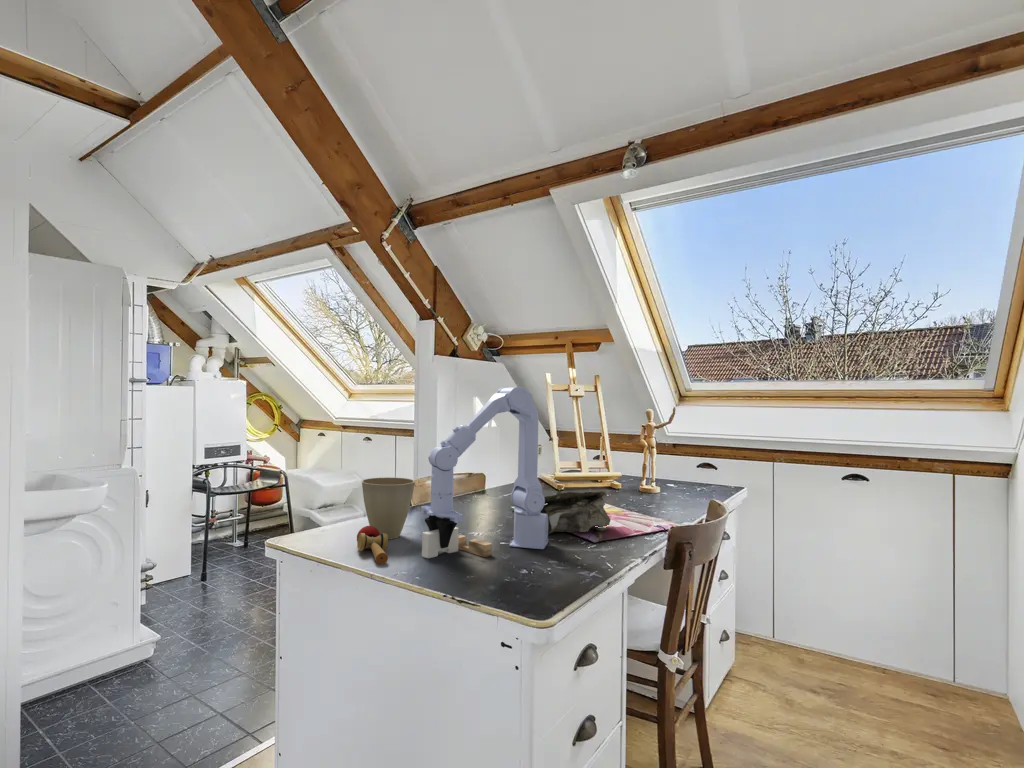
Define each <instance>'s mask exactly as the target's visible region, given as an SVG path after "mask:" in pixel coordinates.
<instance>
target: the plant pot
mask: <svg viewBox="0 0 1024 768" xmlns="http://www.w3.org/2000/svg"><path fill="white" fill-rule="evenodd" d="M415 482H416V481H415V480H414V479H412V478H407V477H406V478H405V477H391V476H390V477H388V476H387V477H371V478H366V479H362V480H361V485H362V486H361V487H362V488H361V489H362V497H363V503H364V509H365V513H366V517H367V521H368V526H373V527H375V528H377V529H378V531H379V533H380V534H382V533H386V534H387V536H388V540H393V539H397V538H399V537H400V535H401V534H402V530H403V528H404V526H405V523H406V521H407V517H408V514H409V511H410V508H411V504H412V499H413V494H414V489H415Z"/></svg>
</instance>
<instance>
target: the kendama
mask: <svg viewBox="0 0 1024 768" xmlns="http://www.w3.org/2000/svg"><path fill="white" fill-rule="evenodd" d="M356 542H357V546H356V549H357V551H359V552H362V551H364V550H371V552H372V554H373V556H374V560H375V562H376V564H377V565H384V564H387V562H388V559H389V555H388V554H387V553H386V551H387V549H388V542H389V539H388V536H387V534H386V533H382V534H380V533H379V531H378V529H377V528H375V527H373V526H370V525H366V526H363V527H362V528H360V529H359V531H358V533H357V535H356Z"/></svg>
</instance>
